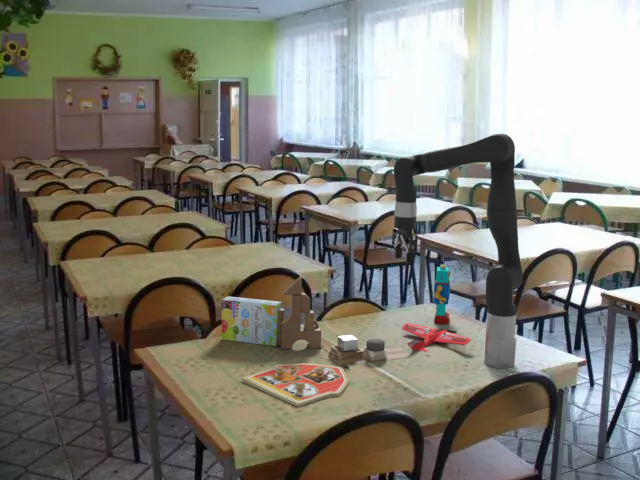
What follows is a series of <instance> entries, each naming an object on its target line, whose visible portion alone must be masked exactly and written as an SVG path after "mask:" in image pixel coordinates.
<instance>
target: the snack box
mask: <svg viewBox="0 0 640 480" xmlns="http://www.w3.org/2000/svg"><path fill="white" fill-rule="evenodd" d="M282 305H283V303H282V301H276V300H268V299H267V300H266V299H258V298H257V299H256V298H247V297H237V296H226V297H224V298H223V299H221V340H223V341H231V342H237V343H239V342H240V343H247V344H254V345H263V346H269V347H270V346H271V347H277V346H278V345H277V341H278V310H279V309H280V308H282V309H283V307H282Z"/></svg>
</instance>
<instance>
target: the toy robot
mask: <svg viewBox="0 0 640 480" xmlns="http://www.w3.org/2000/svg"><path fill="white" fill-rule="evenodd" d="M442 261H444V258H443V259H442ZM450 276H451V271H450V268H449V267H447V266H446V264H440V266H437V267H436V276H435V277H436V278H435V280H434V285H433V287H434V289H433V304H436V307H435V308H436V309H435V314H434V321H433V323H434V324H440V325H449V321H450V313H448V312H446V305H449V300H450V293H451V284H450Z"/></svg>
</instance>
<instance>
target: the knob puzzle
mask: <svg viewBox="0 0 640 480" xmlns="http://www.w3.org/2000/svg"><path fill="white" fill-rule="evenodd" d="M241 382H242V383H244V384H247V385H249V386H251V387H253V388H256V389H257V390H260V391H262V392H265V393H266V394H269V395H270V396H273V397H275V398H277V399H279V400H282V401H284V402H286V403H288V404H290V403H291V404H290V405H293V404H294V405H293V406H295V407H297V406H299V407H302V406H304V404H306V405H308V404H307V403H309V404H311V403H313V402H312V401H314V402H317V401H320V400H319V399H321V400H323V399H322V398H324V399H326V397H327V398H330V397H339V396H341V395H342V394H343V393H344V391H345V390H346V389H347V387H348V386H349V378H348V375H347V373H346V371H345V369H344V368H343V367H342V366H337V365H331V364H322V363H313V362H311V363H310V362H308V363H307V362H299V363H297V362H296V363H283V364H282V363H281V364H274V365H273V367H271V368H268V369H264V370H262V371H257V372H256V373H252V374H249V375H245V376H243V377H242V378H241ZM347 385H348V386H347ZM345 388H346V389H345ZM342 392H343V393H342ZM341 393H342V394H341ZM340 394H341V395H340ZM338 395H339V396H338ZM329 396H330V397H329ZM316 400H317V401H316ZM310 402H311V403H310ZM301 405H302V406H301Z"/></svg>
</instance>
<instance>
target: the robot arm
mask: <svg viewBox="0 0 640 480" xmlns="http://www.w3.org/2000/svg"><path fill="white" fill-rule="evenodd" d="M515 152H516V146H515V142H514V140H513V139H512V138H511V137H510V136H509V135H508V134H505V133H492V134H490V135H488V136H486V137H483V138H480V139H479V140H475V141H473V142H471V143H467V144H463V145H457V146H451V147H445V148H439V149H435V150H430V151H427V152H424V153H420V154H414V155H413V154H412V155H407V156H402V157H399V158H398V159H396V161H395V162H394V165H393V178H394V183H395V189H396V190H395V203H394V204H395V205H394V216H393V228H392V235H391V236H392V238H391V244H392V246H393V248H394V258H395V259H396V260H398V259H401V258H402V251H403V249H402V247H404V248H405V251H406V260H405V263H406V264H411V265H412V264H413V262H414V253H415V252H416V253H417V252H418V234H415V233H413V230H415V229H416V228H417V214H418V213H417V211H418V209H417V208H418V206H417V193H418V192H417V189H418V188H417V186H416V185H415V184H414V176H419V175H423V174H427V173H430V174H431V173H436V172H442V171H447V170H451V169H454V168H457V167H461V166H463V165H470V164H477V163H489V166H490V173H491V176H490V178H491V179H490V185H489V186H490V187H489V191H488V195H487V203H486V205H487V207H486V208H487V209H486V211H487V213H486V214H487V224H488V228H489V232H490V233H491V235H492V238H493V240H494V242H495V246H496V248H497V260H498V261H497V266H494V267H492V268H490V270H488V272H487V275H486V280H485V303H486V306H487V313H486V324H485V325H486V328H485V343H484V363H485V364H486V365H488V366H491V367H494V368H497V369H504V368H511V367H515V363H516V362H515V361H516V360H515V359H516V348H517V338H516V323H517V305H516V304H515V303H513V292H515V290H518V289H519V288H520V286H521V285H522V282H523V269H522V261H521V257H520V249H519V234H518V233H519V232H518V231H519V230H518V210H517V196H516V195H517V194H516V185H515V173H514V172H515V155H516V153H515Z"/></svg>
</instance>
